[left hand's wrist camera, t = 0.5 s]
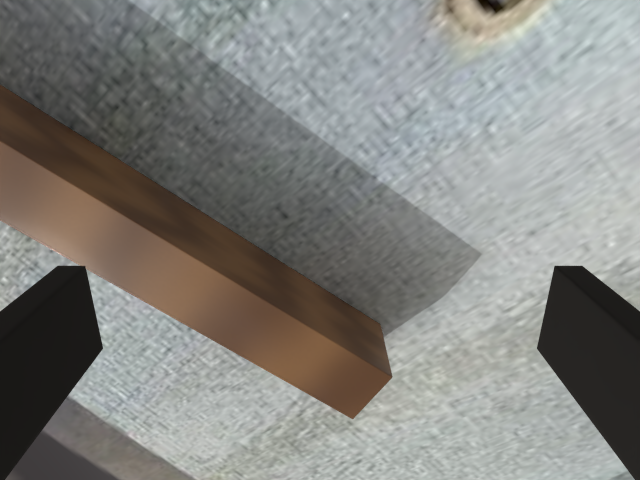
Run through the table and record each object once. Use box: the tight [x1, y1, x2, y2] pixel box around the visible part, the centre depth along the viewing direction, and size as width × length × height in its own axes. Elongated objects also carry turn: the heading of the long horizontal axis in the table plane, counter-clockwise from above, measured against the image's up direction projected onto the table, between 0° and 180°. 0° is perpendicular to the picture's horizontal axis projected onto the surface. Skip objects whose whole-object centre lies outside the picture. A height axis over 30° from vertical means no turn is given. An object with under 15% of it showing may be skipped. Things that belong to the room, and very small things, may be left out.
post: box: [0, 85, 392, 419], centre depth 34 cm, size 64×5×8 cm, turn 55°
